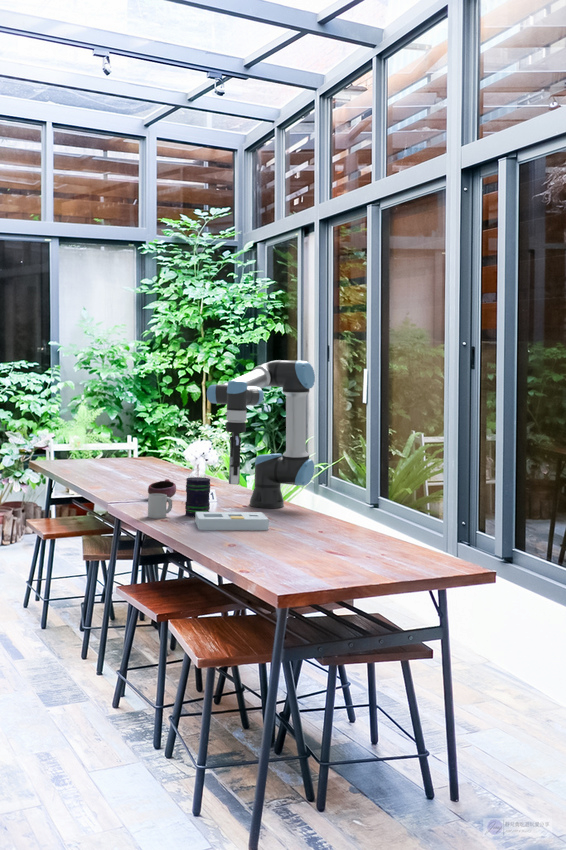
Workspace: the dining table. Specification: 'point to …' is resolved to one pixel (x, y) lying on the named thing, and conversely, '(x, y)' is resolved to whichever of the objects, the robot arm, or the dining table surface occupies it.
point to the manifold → (231, 521)
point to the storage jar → (197, 495)
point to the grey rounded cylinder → (231, 470)
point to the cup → (158, 505)
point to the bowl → (163, 488)
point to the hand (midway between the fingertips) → (234, 482)
